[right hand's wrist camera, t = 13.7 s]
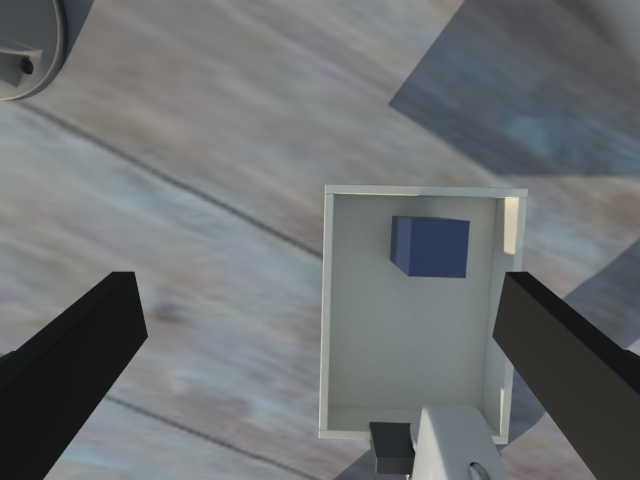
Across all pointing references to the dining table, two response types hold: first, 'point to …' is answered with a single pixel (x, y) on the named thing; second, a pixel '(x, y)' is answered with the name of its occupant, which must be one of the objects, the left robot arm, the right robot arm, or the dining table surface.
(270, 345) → the dining table surface
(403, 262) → the pillar
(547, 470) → the dining table surface
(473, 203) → the drawer
